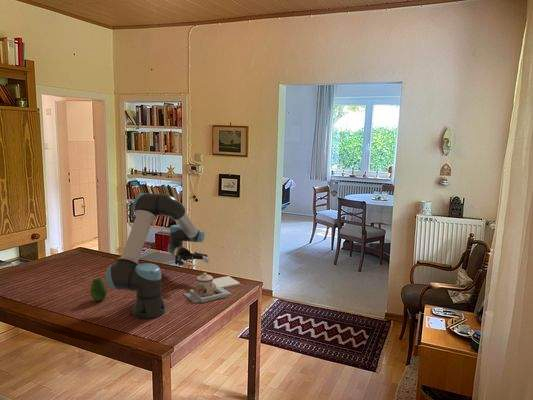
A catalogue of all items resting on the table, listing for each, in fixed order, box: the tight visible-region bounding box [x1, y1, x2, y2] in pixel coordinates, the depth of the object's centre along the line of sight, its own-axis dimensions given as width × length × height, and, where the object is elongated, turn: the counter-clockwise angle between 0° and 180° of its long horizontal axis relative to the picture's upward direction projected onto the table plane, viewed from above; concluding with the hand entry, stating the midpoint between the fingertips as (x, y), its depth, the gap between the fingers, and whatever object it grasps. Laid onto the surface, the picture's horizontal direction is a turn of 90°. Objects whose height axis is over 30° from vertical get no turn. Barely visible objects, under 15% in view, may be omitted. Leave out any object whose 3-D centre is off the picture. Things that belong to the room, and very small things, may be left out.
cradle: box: [183, 285, 232, 304], centre depth 218 cm, size 22×15×2 cm
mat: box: [213, 275, 241, 289], centre depth 237 cm, size 14×14×1 cm
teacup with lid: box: [196, 272, 216, 297], centre depth 219 cm, size 12×9×12 cm
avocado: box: [90, 277, 108, 302], centre depth 208 cm, size 8×8×12 cm
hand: (197, 263), depth 228 cm, fingers open, 13 cm apart
